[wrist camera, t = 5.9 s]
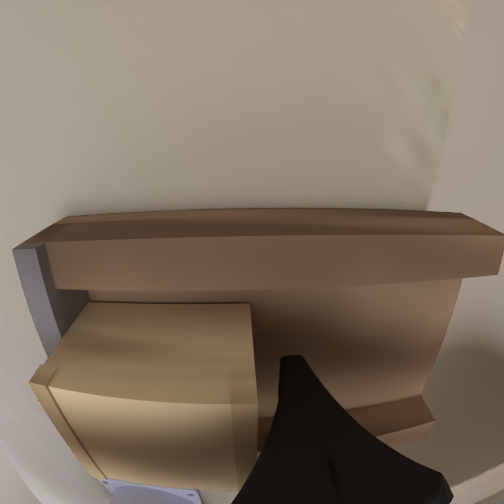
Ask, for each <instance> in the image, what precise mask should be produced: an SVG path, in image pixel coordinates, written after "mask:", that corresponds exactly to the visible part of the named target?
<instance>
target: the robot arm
mask: <svg viewBox="0 0 504 504" xmlns="http://www.w3.org/2000/svg"><path fill="white" fill-rule="evenodd" d="M99 480H100V482H101V483H102V484H103V485H104V486H105V488H106V489H107V490H108V491H109V492H110V493H111V494H112V496H113V497H112V501H111V504H203V503H202V501H201V498H200V496H199V493H198V491H197V489H183V488H171V487H162V486H154V485H147V484H140V483H134V482H128V481H122V480H117V479H112V478H107V480H102V479H99ZM453 497H454V496H453V494H452V491H451V489H450V487H449V485H448V483H447V481H446V480H445V478H444V476H443V475H442V473H440V472H437V471H435V470H433V469H430V468H428V467H426V466H423V465H421V464H419V463H417V462H415V461H413V460H411V459H409V458H407V457H405V456H404V455H402V454H400V453H399V452H397V451H395V450H394V449H392V448H391V447H389V446H388V445H386V444H385V443H383V442H382V441H380V440H379V439H378V438H376V437H375V436H374V435H373V434H371V433H370V432H369V431H367V430H366V429H365V428H364V427H363V426H362V425H360V424H359V423H358V422H357V421H356V420H355V419H354V418H353V417H352V416H351V415H350V414H349V413H348V412H347V411H346V410H345V409H344V408H343V407H342V406H341V405H340V404H339V403H338V402H337V401H336V399H335V398H334V397H333V396H332V395H331V394H330V392H329V391H328V390H327V389H326V388H325V386H324V385H323V384H322V383H321V381H320V380H319V379H318V377H317V376H316V375H315V373H314V372H313V370H312V369H311V367H310V366H309V364H308V363H307V361H306V360H305V358H304V357H303V356H302V355H287V356H283V357H281V358H280V371H279V385H278V404H277V408H276V411H275V415H274V419H273V422H272V425H271V428H270V431H269V433H268V436H267V439H266V441H265V444H264V446H263V448H262V450H261V453H260V455H259V457H258V459H257V461H256V463H255V465H254V467H253V469H252V471H251V473H250V474H249V476H248V478H247V480H246V481H245V483H244V485H243V487H242V488H241V490H240V491H239V493H238V494H237V496H236V497H235V499H234V500H233V502H232V503H231V504H449V503H450V502H451V501H452V499H453ZM496 504H504V499H502V500H500V501H499V502H498V503H496Z"/></svg>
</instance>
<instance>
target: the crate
mask: <svg viewBox="0 0 504 504" xmlns="http://www.w3.org/2000/svg"><path fill="white" fill-rule="evenodd" d="M29 383H30V385H31V387H32V389H33V391H34V393H35V394H36V396H37V398H38V400H39V401H40V403H41V405H42V406H43V408H44V410H45V411H46V413H47V415H48V416H49V418H50V419H51V421H52V422H53V424H54V425H55V427H56V429H57V430H58V432H59V433H60V434H61V436H62V437H63V439H64V440H65V442H66V443H67V445H68V446H69V447H70V449H71V450H72V451H73V453H74V454H75V455H76V457H77V458H78V459H79V461H80V462H81V463H82V465H83V466H84V467H85V468H86V470H87V471H88V472H89V473H90V474H91V476H92V477H93V478H98V479H102V480H107V478H112V479H117V480H122V481H128V482H134V483H140V484H147V485H154V486H162V487H171V488H183V489H198V490H238V491H240V490H241V488H242V487H243V485H244V483H245V481H246V480H247V478H248V476H249V474H250V473H251V471H252V469H253V467H254V465H255V463H256V461H257V437H258V398H257V386H256V376H255V363H254V350H253V337H252V324H251V311H250V303H240V304H134V303H99V302H88V304H87V305H86V306H85V307H84V309H83V310H82V311H81V313H80V314H79V315H78V317H77V318H76V319H75V321H74V322H73V323H72V325H71V326H70V328H69V329H68V330H67V332H66V333H65V334H64V336H63V337H62V339H61V340H60V341H59V343H58V344H57V346H56V347H55V349H54V350H53V351H52V353H51V354H50V356H49V357H48V359H47V360H46V362H45V363H44V365H43V364H41V365H40V366H39V368H38V369H37V371H36V372H35V374H34V375H33V377H32V378H31V380H30V381H29Z"/></svg>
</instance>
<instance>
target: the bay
mask: <svg viewBox="0 0 504 504" xmlns="http://www.w3.org/2000/svg"><path fill="white" fill-rule="evenodd" d="M12 250H13V255H14V259H15V263H16V267H17V270H18V274H19V278H20V281H21V285H22V288H23V291H24V294H25V298H26V301H27V304H28V307H29V310H30V313H31V315H32V318H33V321H34V324H35V327H36V329H37V332H38V334H39V337H40V339H41V342H42V344H43V347H44V349H45V352H46V354H47V356H48V357H49V356H50V354H51V353H52V351H53V350H54V349H55V347H56V346H57V344H58V343H59V341H60V340H61V339H62V337H63V336H64V334H65V333H66V332H67V330H68V329H69V328H70V326H71V325H72V323H73V322H74V321H75V319H76V318H77V317H78V315H79V314H80V313H81V311H82V310H83V309H84V307H85V306H86V305H87V304H88V302H99V303H134V304H240V303H250V311H251V324H252V337H253V350H254V363H255V376H256V386H257V398H258V437H257V459H258V457H259V455H260V453H261V450H262V448H263V446H264V444H265V441H266V439H267V436H268V433H269V431H270V428H271V425H272V422H273V419H274V415H275V411H276V408H277V404H278V385H279V371H280V358H281V357H283V356H287V355H302V356H303V357H304V358H305V360H306V361H307V363H308V364H309V366H310V367H311V369H312V370H313V372H314V373H315V375H316V376H317V377H318V379H319V380H320V381H321V383H322V384H323V385H324V386H325V388H326V389H327V390H328V391H329V392H330V394H331V395H332V396H333V397H334V398H335V399H336V401H337V402H338V403H339V404H340V405H341V406H342V407H343V408H344V409H345V410H346V411H347V412H348V413H349V414H350V415H351V416H352V417H353V418H354V419H355V420H356V421H357V422H358V423H359V424H360V425H362V426H363V427H364V428H365V429H366V430H367V431H369V432H370V433H371V434H373V435H374V436H375V437H376V438H378V439H379V440H380V441H382V442H383V443H385V444H386V445H388V446H389V447H394V446H398V445H401V444H405V443H408V442H412V441H415V440H418V439H422V438H425V437H426V435H427V433H428V432H429V430H430V428H431V427H432V425H433V424H434V422H435V419H434V417H433V415H432V414H431V412H430V410H429V408H428V407H427V405H426V403H425V402H424V400H423V398H422V396H421V392H422V390H423V388H424V386H425V384H426V381H427V379H428V377H429V375H430V372H431V370H432V368H433V365H434V363H435V360H436V358H437V355H438V353H439V350H440V347H441V345H442V342H443V339H444V336H445V334H446V331H447V328H448V325H449V322H450V319H451V316H452V313H453V310H454V307H455V303H456V300H457V297H458V293H459V290H460V286H461V282H462V279H463V278H468V277H479V276H489V275H497V274H498V272H499V268H500V264H501V260H502V256H503V252H504V234H503V233H501V232H499V231H497V230H495V229H493V228H491V227H489V226H487V225H485V224H483V223H481V222H479V221H477V220H475V219H473V218H471V217H468V216H466V215H464V214H462V213H453V212H433V211H413V210H386V209H346V208H243V209H202V210H174V211H151V212H132V213H115V214H100V215H85V216H72V217H65V218H63V219H61V220H59V221H58V222H56V223H54V224H52V225H51V226H49V227H47V228H46V229H44V230H42V231H41V232H39V233H37V234H36V235H34V236H33V237H31V238H29V239H28V240H26V241H25V242H23V243H21V244H20V245H18V246H17V247H15V248H14V249H12Z"/></svg>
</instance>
